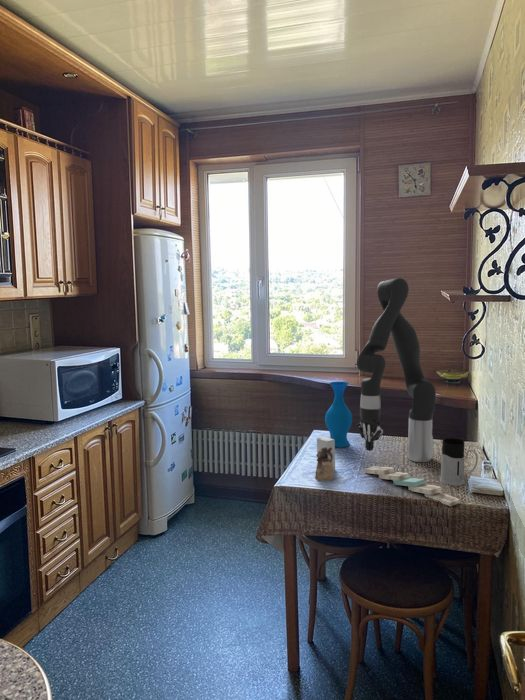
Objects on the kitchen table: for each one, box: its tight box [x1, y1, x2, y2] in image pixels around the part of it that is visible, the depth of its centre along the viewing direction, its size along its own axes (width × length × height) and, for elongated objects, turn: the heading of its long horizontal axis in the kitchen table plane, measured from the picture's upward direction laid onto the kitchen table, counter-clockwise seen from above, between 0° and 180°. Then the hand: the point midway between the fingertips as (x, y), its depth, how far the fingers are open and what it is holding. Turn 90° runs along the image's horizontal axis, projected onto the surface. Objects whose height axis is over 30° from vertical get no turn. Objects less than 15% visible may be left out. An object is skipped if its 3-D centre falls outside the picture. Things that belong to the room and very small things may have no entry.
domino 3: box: [392, 477, 426, 487], centre depth 187 cm, size 5×2×10 cm
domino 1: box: [364, 465, 395, 475], centre depth 199 cm, size 5×2×10 cm
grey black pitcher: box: [439, 437, 479, 487], centre depth 190 cm, size 9×14×15 cm, turn 35°
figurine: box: [314, 446, 335, 482], centre depth 196 cm, size 7×7×12 cm
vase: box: [324, 381, 353, 448], centre depth 235 cm, size 12×13×28 cm
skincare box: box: [316, 436, 336, 470], centre depth 206 cm, size 6×4×12 cm
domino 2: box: [378, 471, 410, 481], centre depth 193 cm, size 5×2×10 cm
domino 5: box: [424, 492, 460, 507], centre depth 177 cm, size 5×2×10 cm
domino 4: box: [407, 483, 443, 495], centre depth 182 cm, size 5×2×10 cm
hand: (369, 450), depth 202 cm, fingers closed
